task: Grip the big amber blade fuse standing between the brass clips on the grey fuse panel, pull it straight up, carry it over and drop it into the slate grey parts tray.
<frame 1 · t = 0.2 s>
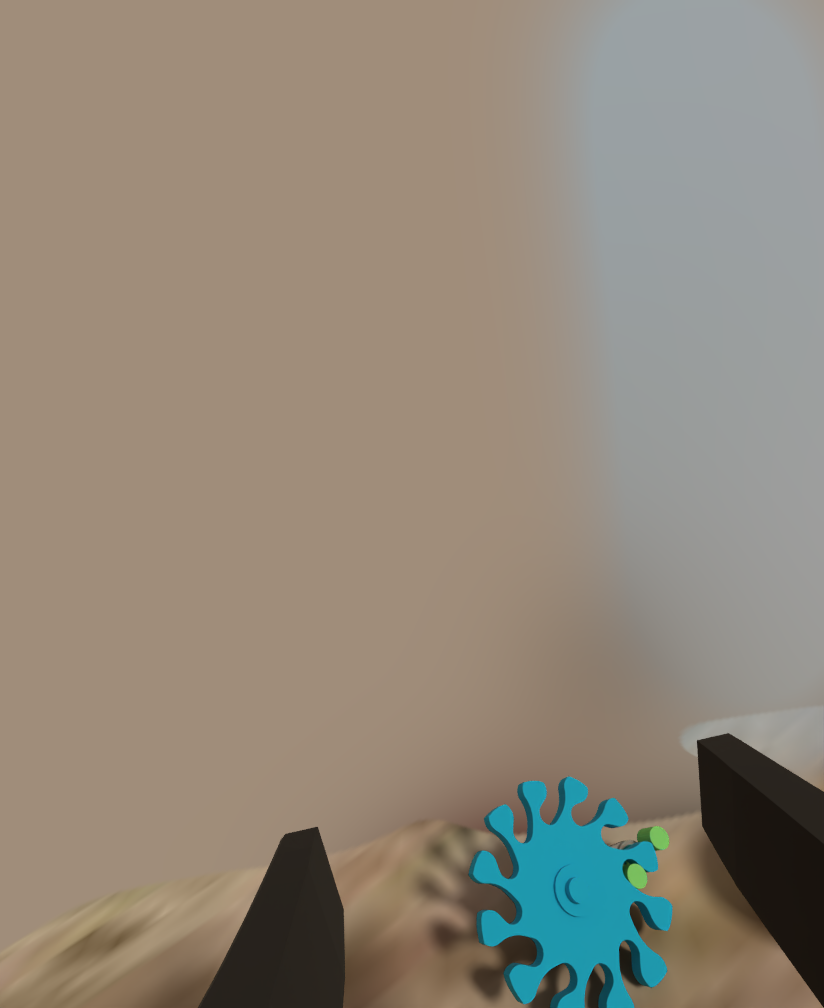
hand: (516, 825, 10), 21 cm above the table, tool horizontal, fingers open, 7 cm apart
gear: (589, 944, 28), on the table
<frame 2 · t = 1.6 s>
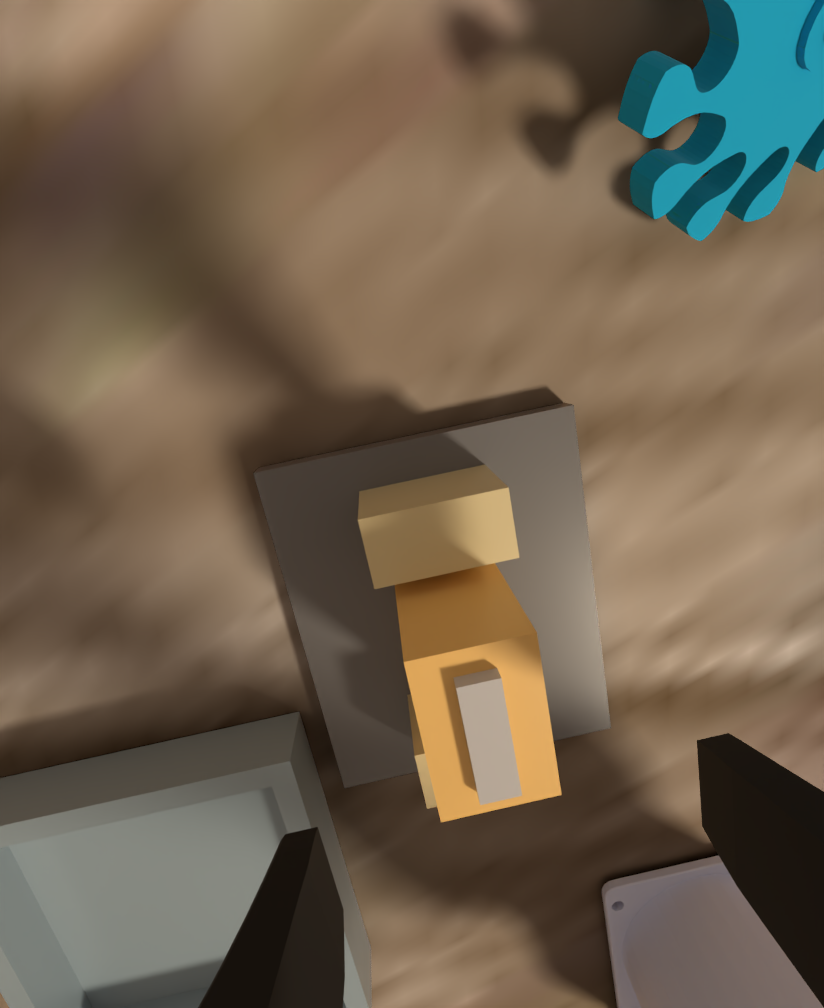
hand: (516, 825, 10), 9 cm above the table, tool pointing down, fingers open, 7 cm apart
parts tray: (187, 873, 21), on the table
fuse panel: (446, 602, 19), on the table
fuse: (449, 612, 18), point 1 cm above the table, touching fuse panel
gear: (728, 76, 16), on the table
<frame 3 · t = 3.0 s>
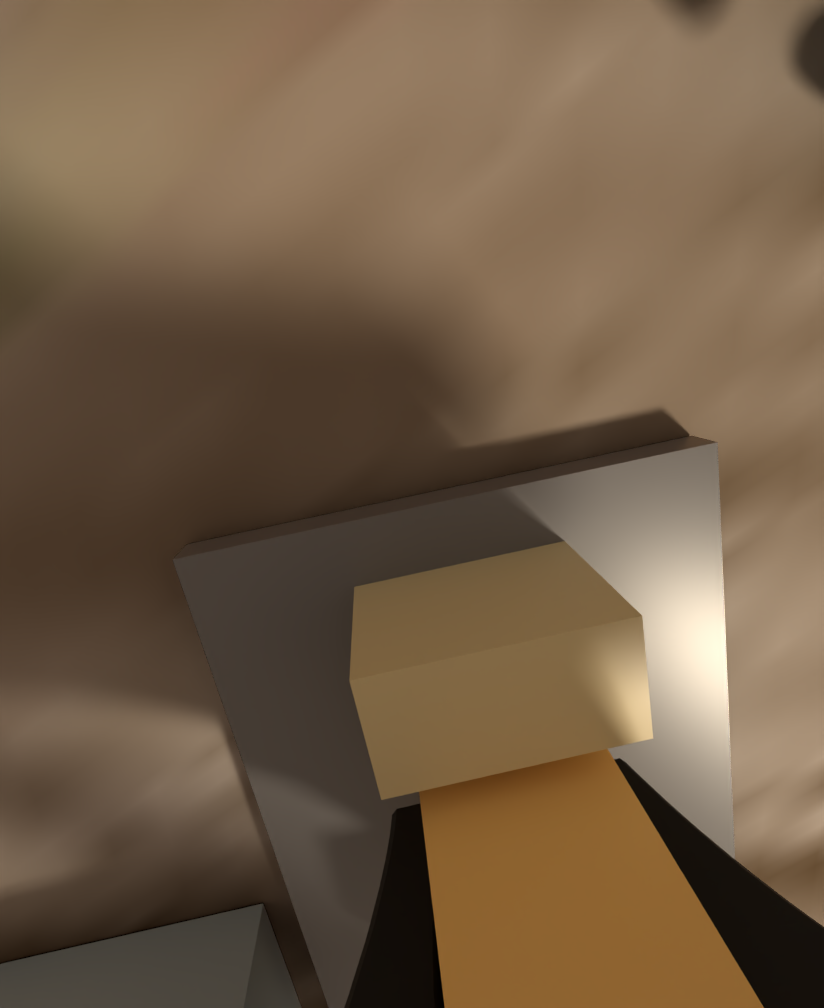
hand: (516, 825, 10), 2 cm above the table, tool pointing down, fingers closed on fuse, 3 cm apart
fuse panel: (490, 743, 12), on the table
fuse: (498, 770, 12), point 1 cm above the table, touching fuse panel, gripper
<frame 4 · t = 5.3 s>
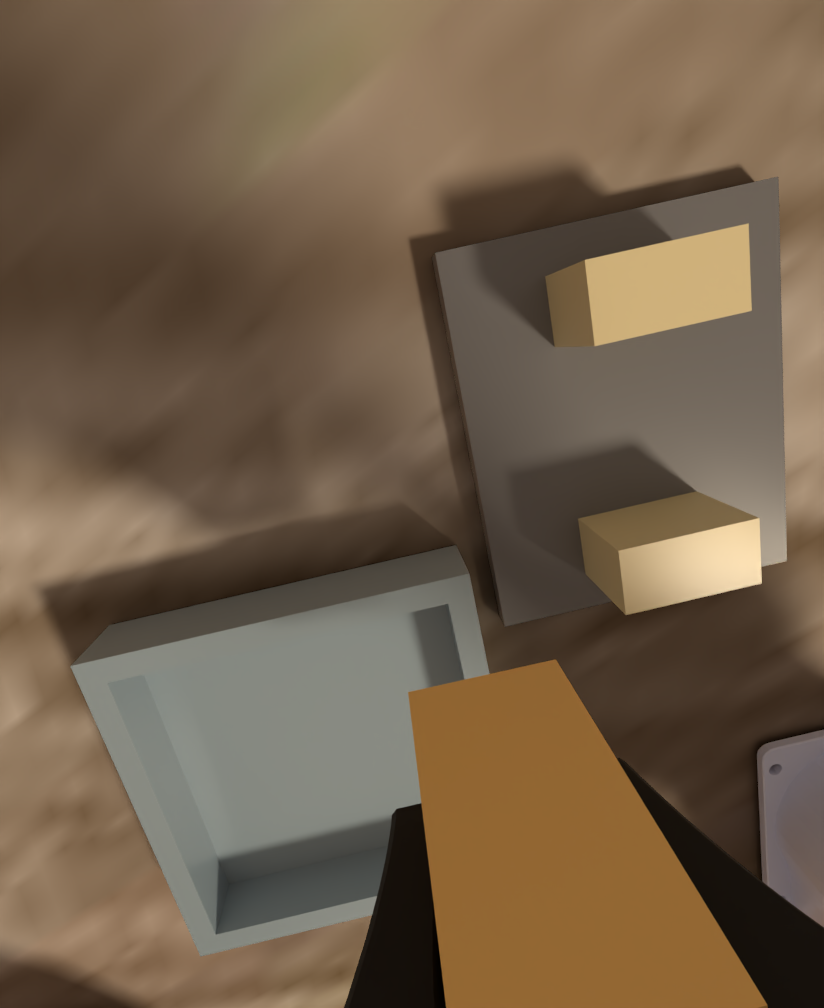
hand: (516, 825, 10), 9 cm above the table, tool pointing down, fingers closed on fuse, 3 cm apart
parts tray: (328, 730, 20), on the table
fuse panel: (617, 419, 18), on the table
fuse: (499, 767, 11), point 8 cm above the table, touching gripper
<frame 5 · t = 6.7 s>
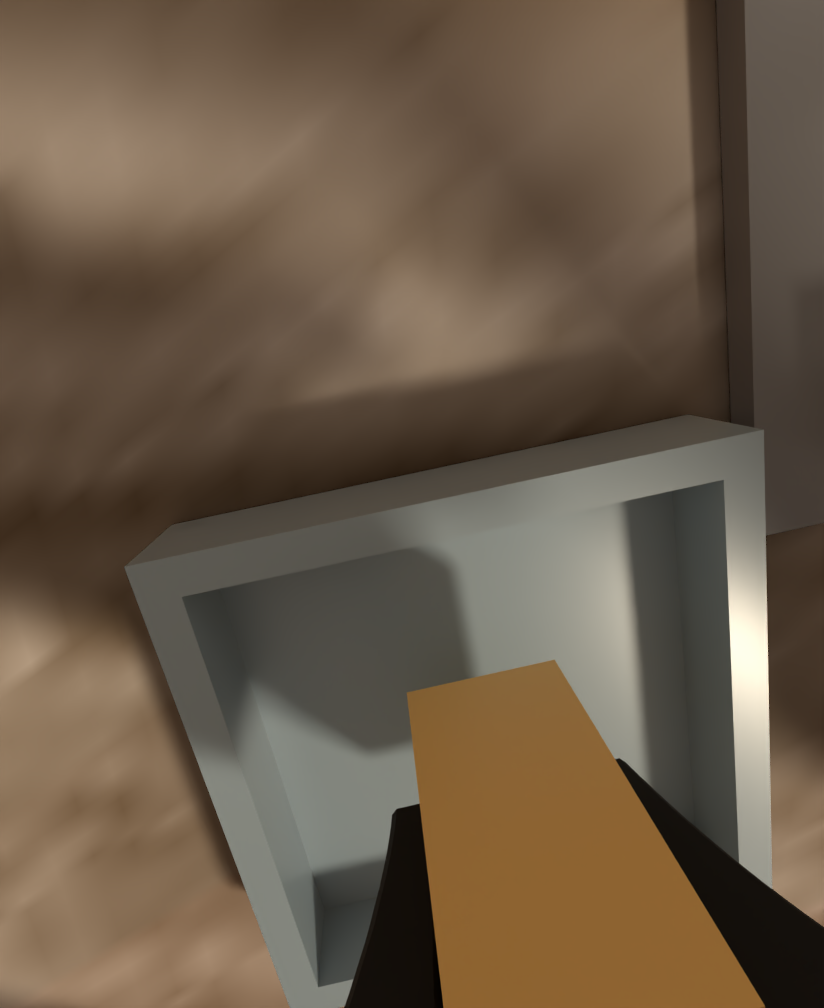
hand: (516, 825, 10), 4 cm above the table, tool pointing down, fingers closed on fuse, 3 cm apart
parts tray: (475, 692, 14), on the table
fuse: (498, 767, 11), point 3 cm above the table, touching gripper
when the fingers open (4 cm above the table, at t = 7.6 s): fuse drops 1 cm, resting on parts tray.
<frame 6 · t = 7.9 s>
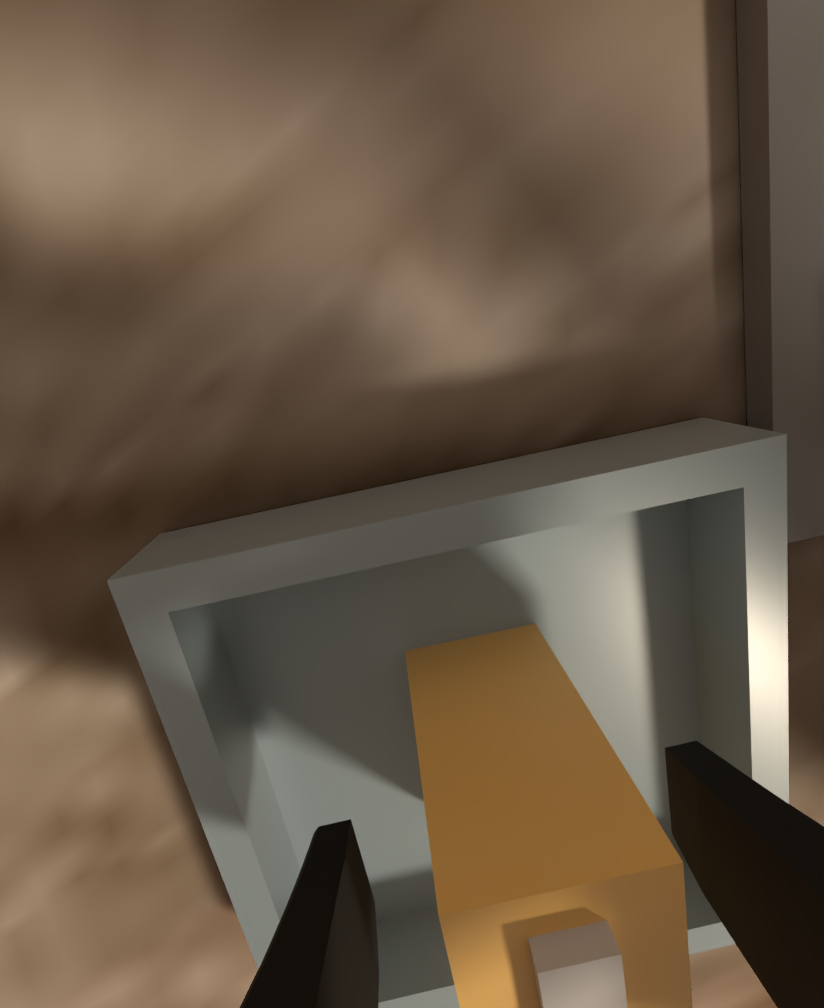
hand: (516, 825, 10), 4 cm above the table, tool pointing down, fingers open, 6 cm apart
parts tray: (479, 707, 14), on the table
fuse: (485, 720, 13), point 1 cm above the table, touching parts tray
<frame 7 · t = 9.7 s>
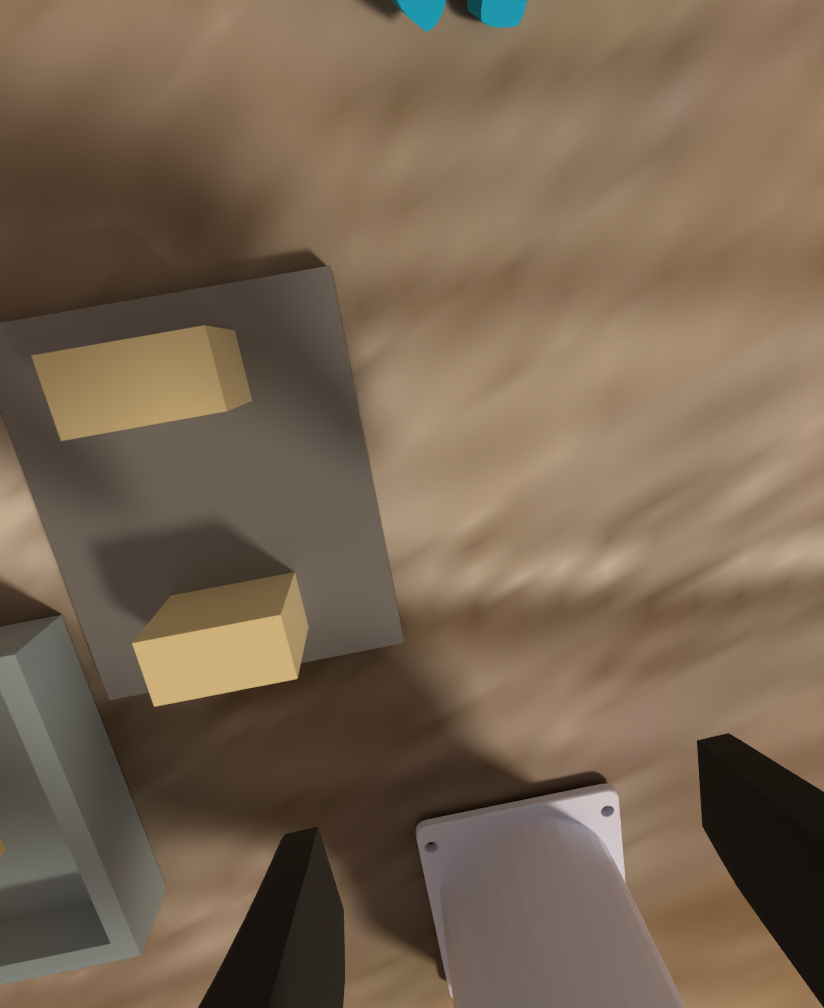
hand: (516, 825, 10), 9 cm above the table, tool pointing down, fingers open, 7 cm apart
fuse panel: (216, 495, 18), on the table
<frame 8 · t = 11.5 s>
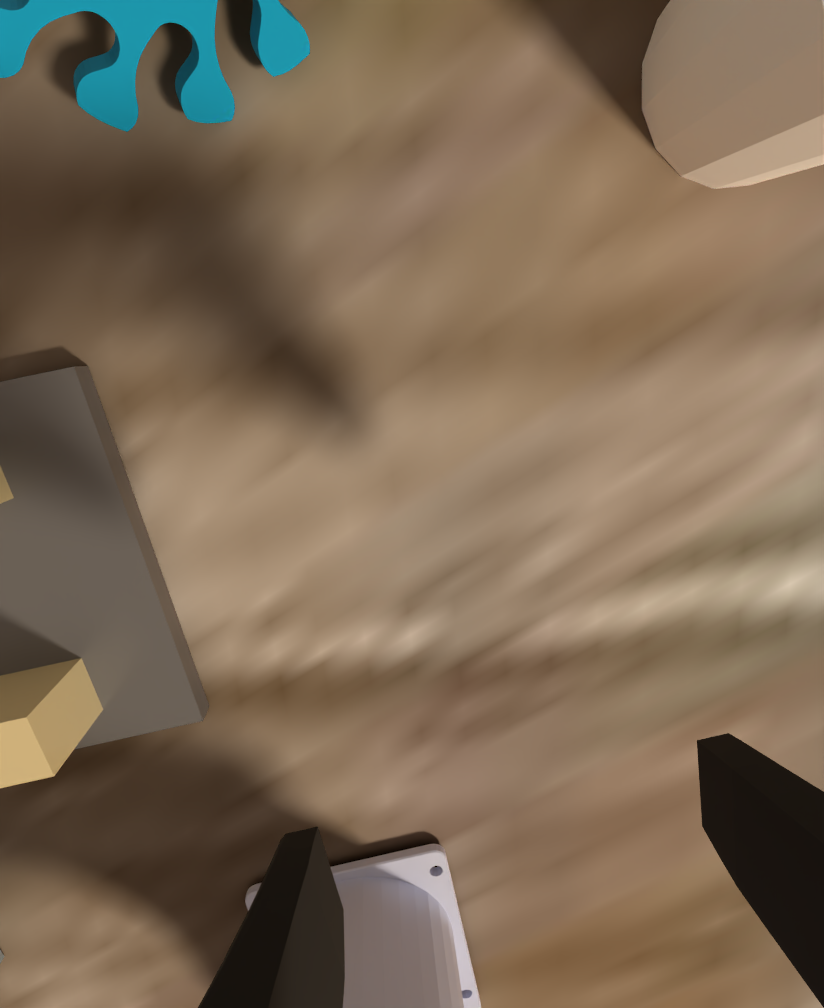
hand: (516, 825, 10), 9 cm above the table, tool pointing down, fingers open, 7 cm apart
fuse panel: (1, 584, 18), on the table
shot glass: (732, 81, 16), on the table
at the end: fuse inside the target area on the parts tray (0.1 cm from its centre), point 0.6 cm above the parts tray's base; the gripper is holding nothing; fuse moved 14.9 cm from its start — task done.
